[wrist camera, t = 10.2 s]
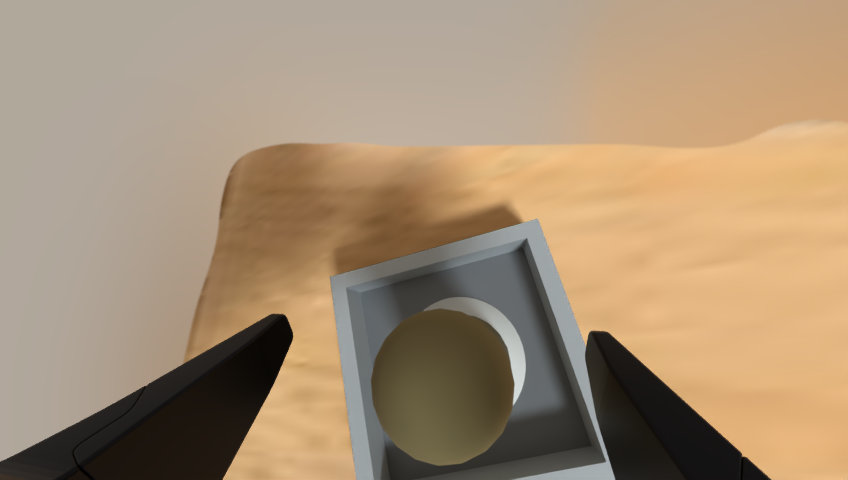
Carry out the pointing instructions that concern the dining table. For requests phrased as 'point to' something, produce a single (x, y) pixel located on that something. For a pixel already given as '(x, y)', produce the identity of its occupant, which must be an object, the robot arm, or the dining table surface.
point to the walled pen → (520, 330)
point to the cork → (443, 386)
